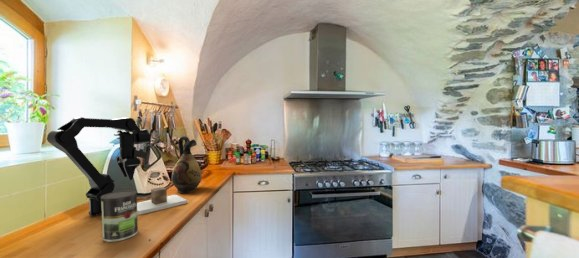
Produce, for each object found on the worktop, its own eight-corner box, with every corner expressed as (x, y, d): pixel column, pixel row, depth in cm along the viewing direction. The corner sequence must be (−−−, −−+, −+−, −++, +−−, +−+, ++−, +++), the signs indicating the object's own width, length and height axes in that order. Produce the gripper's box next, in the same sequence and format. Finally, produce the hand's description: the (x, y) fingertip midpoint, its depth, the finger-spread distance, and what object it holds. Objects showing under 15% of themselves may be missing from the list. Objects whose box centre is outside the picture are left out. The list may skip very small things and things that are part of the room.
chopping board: (139, 214, 107) (139, 211, 107) (130, 207, 117) (130, 204, 117) (186, 203, 122) (186, 200, 121) (175, 197, 131) (175, 194, 131)
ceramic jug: (208, 189, 146) (206, 135, 144) (184, 196, 132) (182, 137, 131) (188, 185, 154) (186, 135, 153) (164, 191, 141) (162, 136, 140)
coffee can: (144, 232, 90) (142, 192, 90) (111, 245, 82) (109, 200, 81) (128, 226, 96) (127, 188, 95) (96, 237, 87) (94, 195, 86)
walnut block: (155, 204, 115) (154, 191, 115) (151, 202, 119) (151, 189, 119) (166, 201, 119) (166, 188, 119) (163, 199, 123) (162, 187, 122)
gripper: (152, 144, 120) (153, 178, 121) (140, 142, 133) (141, 172, 134) (124, 146, 112) (125, 182, 113) (114, 144, 125) (115, 176, 126)
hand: (128, 178), depth 121 cm, fingers open, 9 cm apart
